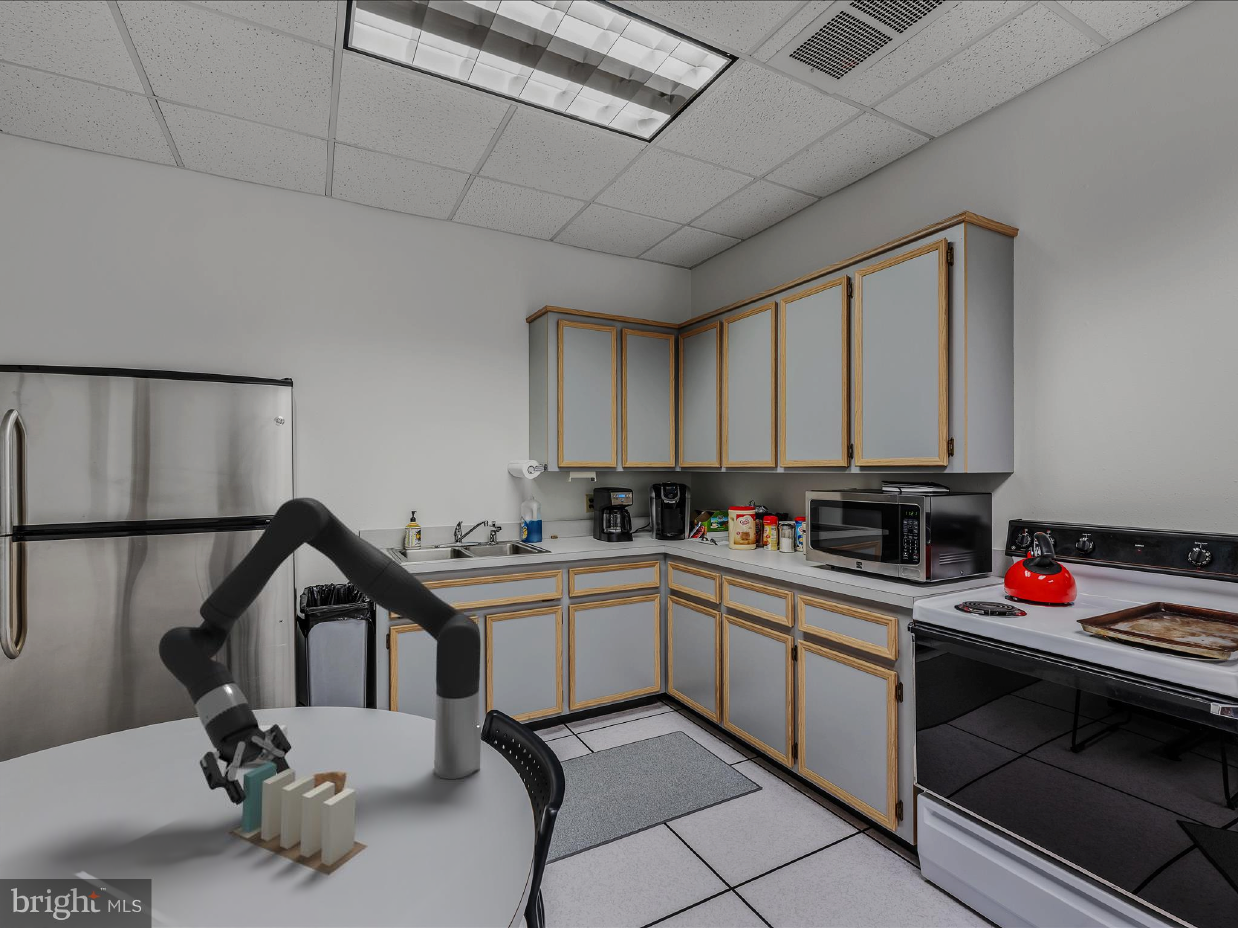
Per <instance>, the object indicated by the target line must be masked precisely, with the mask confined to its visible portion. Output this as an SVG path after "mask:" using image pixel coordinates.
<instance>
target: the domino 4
mask: <svg viewBox="0 0 1238 928" xmlns="http://www.w3.org/2000/svg"><path fill="white" fill-rule="evenodd" d="M355 815H356V789H353V788H350V787H347V788H345V789H343V791H342V792H340V793H338V794H337V795H335V796H333V797H332V798H330V799H328V800H327V801H325V802H323V826H322V862H321V863H323V864H325V865H328V866H330V865H331V864H333V863H334V862H336V861H337V860H338V859H340V858H341V857H343V856H344V855H345V854H347V853H348V852H350V851H351V850H352V849H354V841H355V823H356V820H355V817H356V816H355Z"/></svg>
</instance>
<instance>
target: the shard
mask: <svg viewBox="0 0 1238 928" xmlns="http://www.w3.org/2000/svg"><path fill="white" fill-rule="evenodd" d="M312 776H313V777H315V782H314V788H316V787H318V786H320V785H322V784H323V783H325V782H327V781H328V782H331V783H334V784H335V790H334V796H335V795H337V794H338V793H340V792H342V791H344V787H345V784H346V780H347V772H345V771H331V772H322V773H315V774H314V775H312Z"/></svg>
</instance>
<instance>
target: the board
mask: <svg viewBox="0 0 1238 928" xmlns="http://www.w3.org/2000/svg"><path fill="white" fill-rule="evenodd" d="M228 835H231V836H233V837H236V838H238V839H240V840H243V841H246V842H248V843H250V844H253V845H255V846H258V847H260V848H263V849H265V850H266V851H270V852H272V853H274V854H277V855H280V856H282V857H284V858H287V859H289V860H292V861H294V862H295V863H298V864H301V865H304V866H306V867H308V868H311V869H312V870H315V871H319V872H320V873H323V874H325V875H327V876H329V875H330V874H332V873H333V872H334V871H336V870H337V869H338V868H340V867H341V866H343V865H344V864H345V863H347V862H348V861H350V860H351V859H352V858H354V857H355V856H357V855H358V854H359V853H361V852H362V851H364V850H365V849H366V848H367V847H368V845H366V844H363V843H361V842H358V841H356V840H354V849H352V850H351V851H350V852H348V853H347V854H345V855H344V856H343V857H341V858H340V859H338V860H337V861H336V862H334V863H333V864H331V865H330V866H328V865H325V864H323V863H321V862H322V848H321V849H320V850H318V851H317V852H315V853H314V854H312V855H311V856H309V857H306V856H303V855H301V841H300V842H298V843H296V844H295V845H293V846H292V847H290V848H289V849H286V848H284V847H281V846H280V843H281V834H279V835H277V836H276V837H274V838H272V839H271V840H269V841H266V840H264V839H261V826H260V827H258V828H256V829H255V830H253V831H251V832H249V833H248V832H245V831H243V830H242V825H240V826H238V827H236V828H235V829H233V830H231V831H230V832H228Z"/></svg>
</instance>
